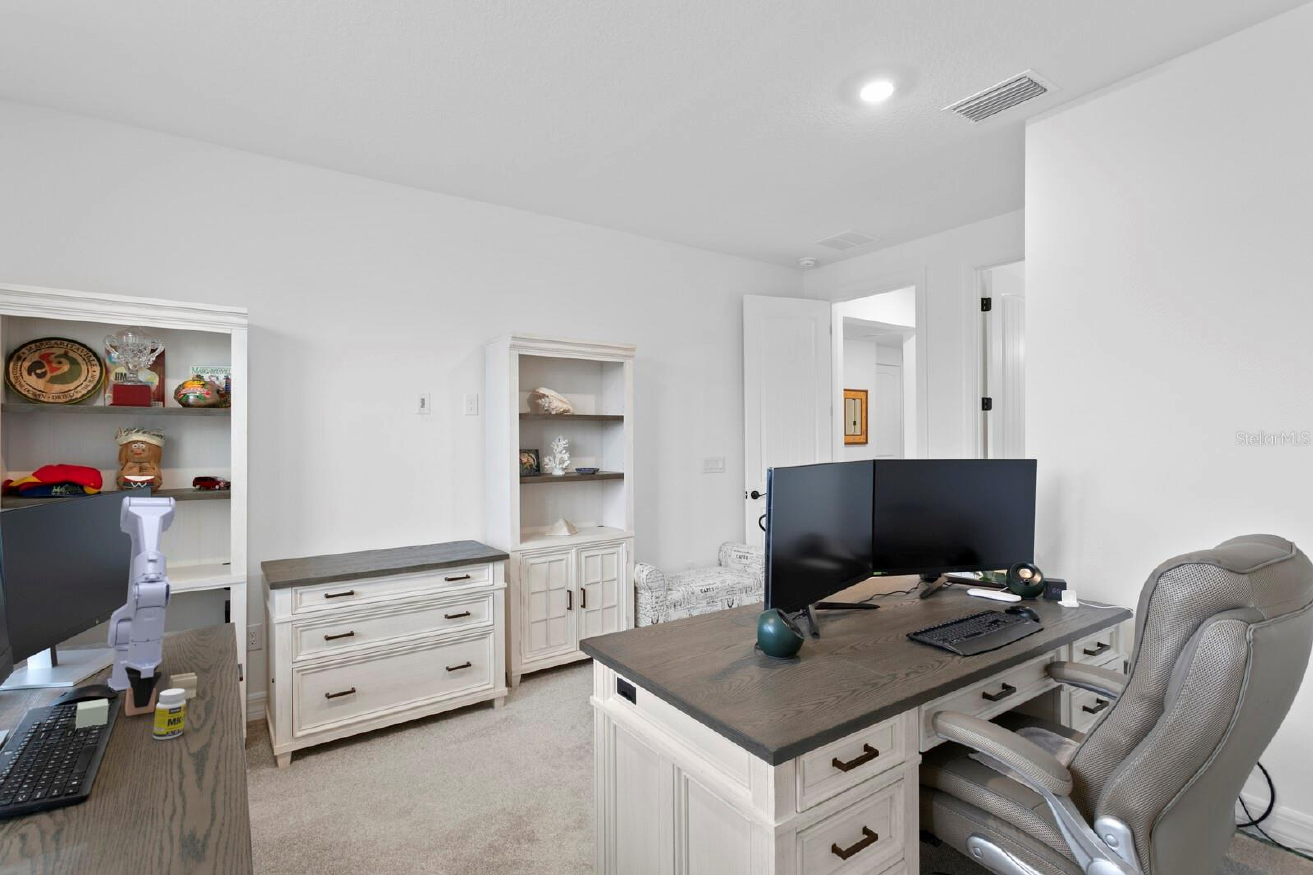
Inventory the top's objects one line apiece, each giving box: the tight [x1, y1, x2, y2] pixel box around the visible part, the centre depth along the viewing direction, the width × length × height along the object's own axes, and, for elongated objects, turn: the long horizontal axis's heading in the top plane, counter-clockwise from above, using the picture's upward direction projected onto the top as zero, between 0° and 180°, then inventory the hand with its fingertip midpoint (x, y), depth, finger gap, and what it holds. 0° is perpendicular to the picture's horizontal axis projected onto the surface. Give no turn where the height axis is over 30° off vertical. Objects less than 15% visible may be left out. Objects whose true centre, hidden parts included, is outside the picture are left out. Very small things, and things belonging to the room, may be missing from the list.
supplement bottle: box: [152, 688, 187, 741], centre depth 127 cm, size 5×5×8 cm
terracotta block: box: [124, 686, 157, 717], centre depth 138 cm, size 4×4×4 cm
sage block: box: [75, 698, 110, 730], centre depth 129 cm, size 4×4×4 cm
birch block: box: [168, 672, 198, 700], centre depth 147 cm, size 4×4×4 cm
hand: (140, 703), depth 138 cm, fingers closed on terracotta block, 4 cm apart
